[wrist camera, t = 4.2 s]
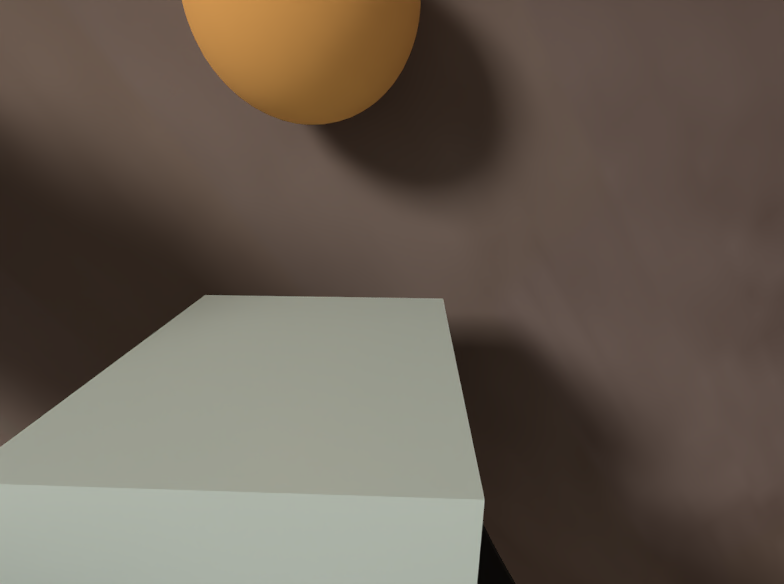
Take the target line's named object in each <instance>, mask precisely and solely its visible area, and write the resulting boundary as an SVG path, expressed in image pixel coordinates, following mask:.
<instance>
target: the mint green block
mask: <svg viewBox="0 0 784 584" xmlns="http://www.w3.org/2000/svg"><path fill="white" fill-rule="evenodd" d="M484 502H485V499H484V494H483V489H482V484H481V480H480V475H479V470H478V465H477V460H476V455H475V451H474V446H473V441H472V436H471V431H470V427H469V422H468V417H467V412H466V407H465V403H464V398H463V393H462V388H461V383H460V378H459V374H458V369H457V364H456V359H455V354H454V350H453V345H452V340H451V335H450V330H449V326H448V321H447V316H446V311H445V306H444V301H443V299H436V298H369V297H302V296H235V295H204V296H203V297H202V298H200V299H199V300H198V301H196V302H195V303H194V304H192V305H191V306H190V307H188V308H187V309H186V310H184V311H183V312H182V313H180V314H179V315H178V316H176V317H175V318H173V319H172V320H171V321H169V322H168V323H167V324H165V325H164V326H163V327H161V328H160V329H159V330H157V331H156V332H155V333H153V334H152V335H151V336H149V337H148V338H147V339H145V340H144V341H143V342H141V343H140V344H138V345H137V346H136V347H134V348H133V349H132V350H130V351H129V352H128V353H126V354H125V355H124V356H122V357H121V358H120V359H118V360H117V361H116V362H114V363H113V364H112V365H110V366H109V367H107V368H106V369H105V370H103V371H102V372H101V373H99V374H98V375H97V376H95V377H94V378H93V379H91V380H90V381H89V382H87V383H86V384H85V385H83V386H82V387H81V388H79V389H78V390H77V391H75V392H74V393H72V394H71V395H70V396H68V397H67V398H66V399H64V400H63V401H62V402H60V403H59V404H58V405H56V406H55V407H54V408H52V409H51V410H50V411H48V412H47V413H46V414H44V415H43V416H42V417H40V418H39V419H37V420H36V421H35V422H33V423H32V424H31V425H29V426H28V427H27V428H25V429H24V430H23V431H21V432H20V433H19V434H17V435H16V436H15V437H13V438H12V439H11V440H9V441H8V442H7V443H5V444H4V445H2V446H1V447H0V584H477V580H478V568H479V557H480V546H481V535H482V524H483V513H484Z"/></svg>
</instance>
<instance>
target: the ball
mask: <svg viewBox="0 0 784 584" xmlns="http://www.w3.org/2000/svg"><path fill="white" fill-rule="evenodd" d="M182 3H183V7H184V10H185V14H186V17H187V20H188V23H189V25H190V28H191V30H192V33H193V35H194V38H195V40H196V42H197V44H198V46H199V48H200V49H201V51H202V53H203V55H204V57H205V58H206V60H207V61H208V63H209V64H210V66H211V67H212V68H213V70H214V71H215V72H216V73H217V75H218V76H219V77H220V78H221V79H222V80H223V82H224V83H225V84H226V85H227V86H228V87H229V88H230V89H231V90H232V91H234V92H235V93H236V94H237V95H238V96H239V97H240V98H242V99H243V100H244V101H246V102H247V103H249V104H250V105H251V106H253V107H255V108H257V109H258V110H260V111H262V112H264V113H266V114H268V115H270V116H273V117H276V118H278V119H281V120H284V121H288V122H292V123H296V124H307V125H318V124H328V123H333V122H338V121H341V120H344V119H347V118H350V117H353V116H355V115H357V114H359V113H361V112H363V111H364V110H366V109H367V108H369V107H370V106H371V105H373V104H374V103H376V102H377V101H378V100H379V99H380V98H381V97H382V96H383V95H384V94H385V93H386V92H387V91H388V90H389V89H390V87H391V86H392V85H393V84H394V83H395V81H396V79H397V78H398V76H399V75H400V73H401V72H402V70H403V68H404V66H405V64H406V62H407V60H408V58H409V55H410V53H411V50H412V47H413V44H414V41H415V38H416V33H417V29H418V24H419V17H420V7H421V0H182Z"/></svg>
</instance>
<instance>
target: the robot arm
mask: <svg viewBox="0 0 784 584" xmlns="http://www.w3.org/2000/svg"><path fill="white" fill-rule="evenodd" d="M477 584H515V582H514V580H513V579H512V577H511V575H510V573H509V572H508V570H507V568H506V566H505V565H504V563H503V561H502V559H501V558H500V556H499V554H498V552H497V550H496V548H495V546H494V545H493V543H492V541H491V539H490V537H489V535H488V533H487V531H486V529H485V527H484V525H483V524H482V535H481V546H480V557H479V568H478V580H477Z"/></svg>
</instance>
